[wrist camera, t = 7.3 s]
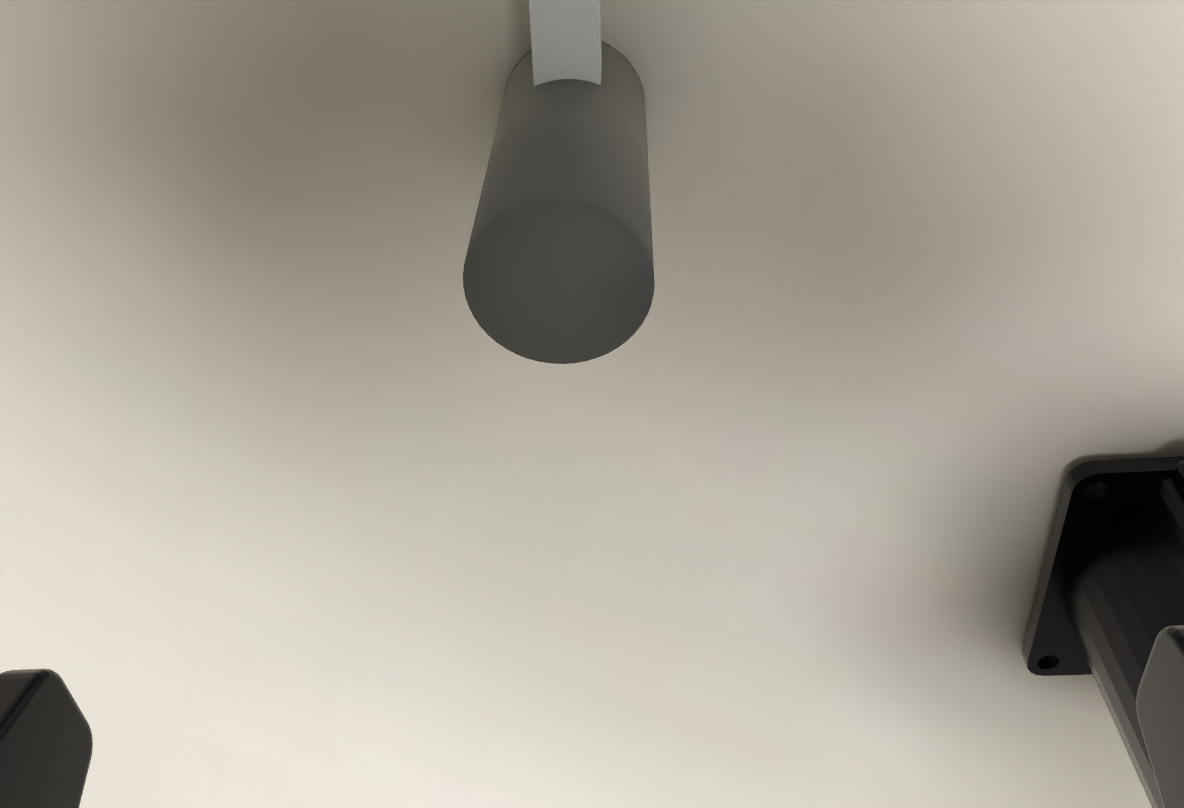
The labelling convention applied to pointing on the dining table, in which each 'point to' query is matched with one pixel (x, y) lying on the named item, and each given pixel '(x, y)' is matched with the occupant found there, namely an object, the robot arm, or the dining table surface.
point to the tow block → (565, 198)
